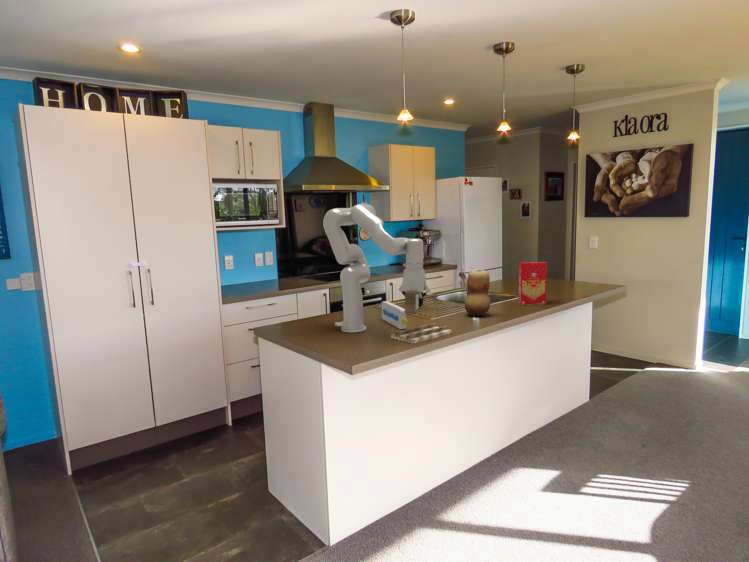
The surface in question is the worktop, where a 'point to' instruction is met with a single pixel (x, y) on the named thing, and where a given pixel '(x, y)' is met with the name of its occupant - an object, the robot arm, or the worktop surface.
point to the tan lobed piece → (477, 292)
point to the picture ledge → (421, 333)
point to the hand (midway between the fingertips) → (414, 305)
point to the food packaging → (532, 282)
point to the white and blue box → (394, 315)
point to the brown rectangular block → (412, 302)
